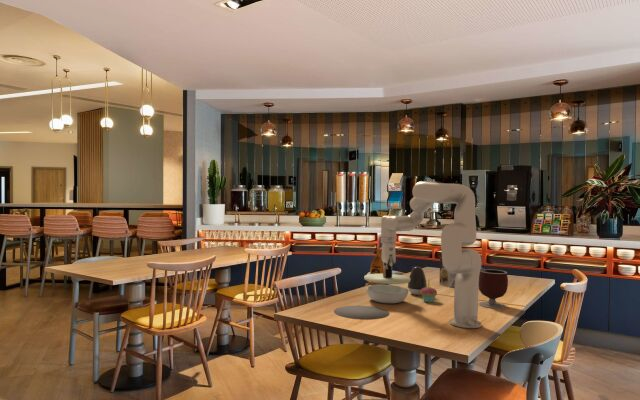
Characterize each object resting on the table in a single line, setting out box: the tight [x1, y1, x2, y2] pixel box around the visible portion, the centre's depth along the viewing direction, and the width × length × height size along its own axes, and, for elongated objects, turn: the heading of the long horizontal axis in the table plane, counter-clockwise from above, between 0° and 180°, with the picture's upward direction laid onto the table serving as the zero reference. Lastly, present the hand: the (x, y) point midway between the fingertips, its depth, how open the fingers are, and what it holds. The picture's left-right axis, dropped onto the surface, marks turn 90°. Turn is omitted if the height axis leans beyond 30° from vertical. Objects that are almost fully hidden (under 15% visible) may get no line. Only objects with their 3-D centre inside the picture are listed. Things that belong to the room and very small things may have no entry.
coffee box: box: [438, 257, 457, 288], centre depth 280 cm, size 9×6×16 cm
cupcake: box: [420, 279, 438, 303], centre depth 236 cm, size 9×8×12 cm
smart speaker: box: [407, 266, 428, 296], centre depth 253 cm, size 10×10×15 cm
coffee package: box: [369, 246, 387, 286], centre depth 278 cm, size 10×12×22 cm
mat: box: [333, 305, 390, 321], centre depth 208 cm, size 25×25×1 cm
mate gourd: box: [478, 266, 509, 310], centre depth 229 cm, size 16×14×20 cm
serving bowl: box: [366, 284, 409, 304], centre depth 232 cm, size 21×21×7 cm
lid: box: [363, 265, 410, 285], centre depth 232 cm, size 23×23×7 cm
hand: (387, 276), depth 232 cm, fingers closed on lid, 4 cm apart
